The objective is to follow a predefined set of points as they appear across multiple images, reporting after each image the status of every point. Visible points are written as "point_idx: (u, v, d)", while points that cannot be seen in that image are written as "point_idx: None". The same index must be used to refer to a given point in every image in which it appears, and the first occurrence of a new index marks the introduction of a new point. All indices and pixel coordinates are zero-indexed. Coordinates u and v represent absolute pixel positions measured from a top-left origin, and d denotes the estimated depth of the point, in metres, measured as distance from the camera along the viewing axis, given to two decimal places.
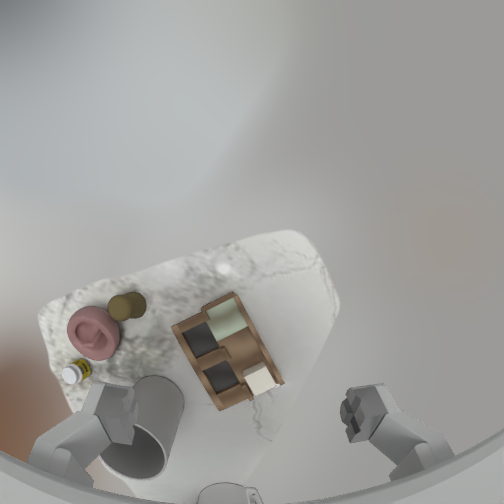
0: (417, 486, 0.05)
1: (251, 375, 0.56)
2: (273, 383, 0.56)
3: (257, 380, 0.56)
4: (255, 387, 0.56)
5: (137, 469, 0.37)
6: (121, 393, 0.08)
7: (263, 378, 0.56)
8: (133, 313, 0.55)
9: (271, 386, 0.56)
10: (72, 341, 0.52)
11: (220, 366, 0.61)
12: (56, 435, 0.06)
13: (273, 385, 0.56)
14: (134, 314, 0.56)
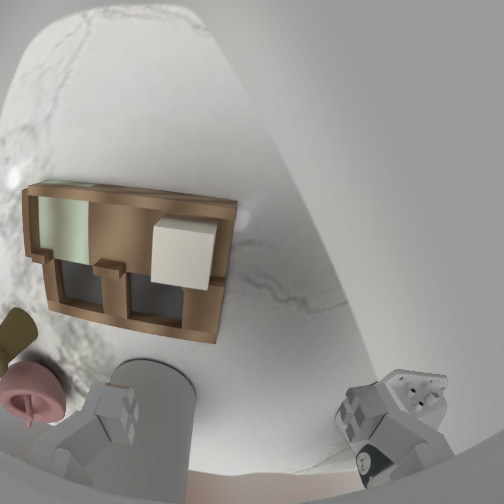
0: (417, 486, 0.05)
1: (154, 266, 0.24)
2: (204, 237, 0.23)
3: (174, 263, 0.24)
4: (186, 277, 0.24)
5: None
6: (122, 393, 0.08)
7: (177, 249, 0.23)
8: (9, 345, 0.27)
9: (208, 246, 0.23)
10: (37, 420, 0.32)
11: (141, 284, 0.31)
12: (57, 435, 0.06)
13: (209, 240, 0.23)
14: (14, 343, 0.28)
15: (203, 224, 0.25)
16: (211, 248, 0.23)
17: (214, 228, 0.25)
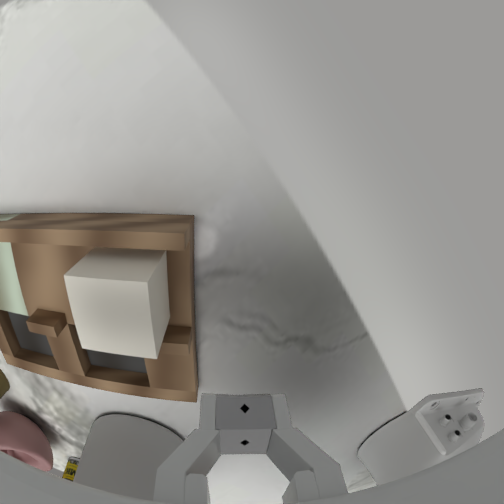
0: (417, 486, 0.05)
1: (80, 329, 0.15)
2: (133, 287, 0.14)
3: (102, 325, 0.14)
4: (124, 343, 0.15)
5: None
6: (238, 402, 0.09)
7: (101, 306, 0.14)
8: None
9: (142, 300, 0.14)
10: None
11: None
12: (181, 461, 0.06)
13: (141, 292, 0.14)
14: None
15: (140, 260, 0.16)
16: (147, 302, 0.14)
17: (153, 267, 0.15)
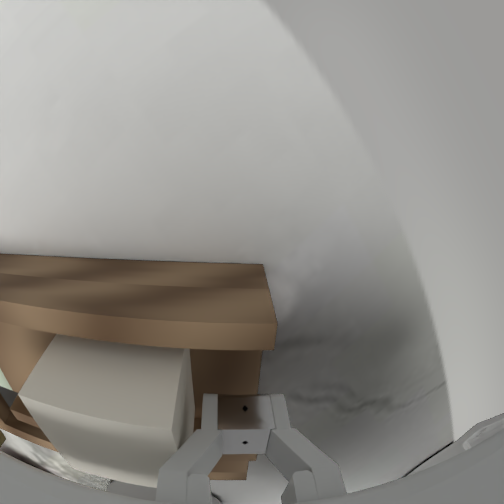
0: (417, 486, 0.05)
1: (65, 454, 0.07)
2: (145, 432, 0.06)
3: (98, 458, 0.07)
4: (137, 477, 0.07)
5: None
6: (240, 402, 0.09)
7: (91, 442, 0.07)
8: None
9: (163, 446, 0.06)
10: None
11: None
12: (183, 461, 0.06)
13: (161, 438, 0.06)
14: None
15: (146, 359, 0.08)
16: (173, 450, 0.07)
17: (174, 381, 0.08)
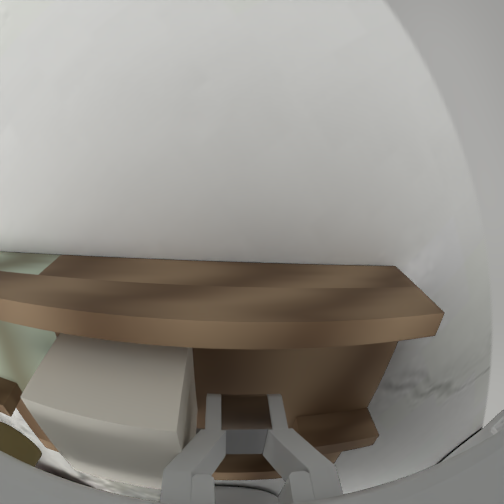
0: (417, 486, 0.05)
1: (67, 456, 0.07)
2: (149, 435, 0.06)
3: (101, 460, 0.07)
4: (139, 479, 0.07)
5: None
6: (243, 402, 0.09)
7: (94, 444, 0.06)
8: None
9: (167, 448, 0.06)
10: None
11: None
12: (188, 461, 0.06)
13: (165, 440, 0.06)
14: None
15: (150, 361, 0.08)
16: (178, 452, 0.07)
17: (178, 383, 0.08)
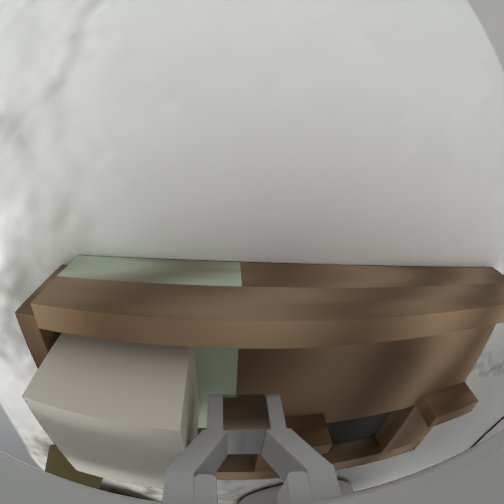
0: (417, 486, 0.05)
1: (68, 456, 0.07)
2: (153, 434, 0.06)
3: (103, 460, 0.07)
4: (142, 478, 0.07)
5: None
6: (245, 402, 0.09)
7: (97, 444, 0.07)
8: None
9: (170, 447, 0.06)
10: None
11: None
12: (190, 461, 0.06)
13: (169, 439, 0.06)
14: None
15: (152, 360, 0.08)
16: (181, 450, 0.07)
17: (181, 382, 0.08)
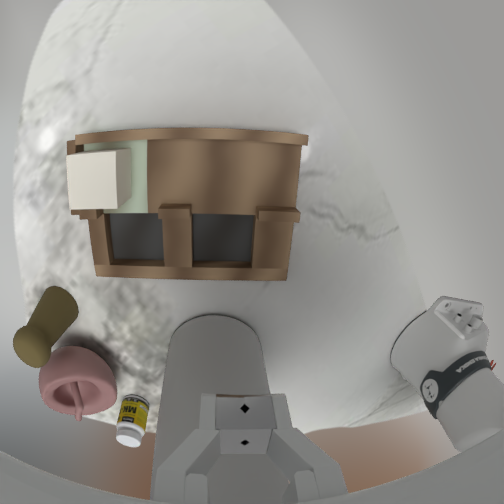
0: (417, 486, 0.05)
1: (70, 193, 0.22)
2: (107, 156, 0.21)
3: (85, 186, 0.22)
4: (97, 198, 0.23)
5: None
6: (238, 402, 0.09)
7: (87, 172, 0.22)
8: (51, 326, 0.28)
9: (111, 163, 0.22)
10: (83, 413, 0.33)
11: (204, 228, 0.31)
12: (182, 461, 0.06)
13: (111, 158, 0.22)
14: (56, 323, 0.29)
15: (113, 149, 0.24)
16: (114, 165, 0.22)
17: (120, 149, 0.23)
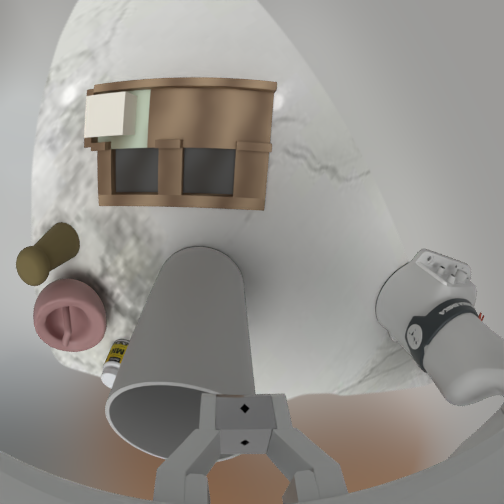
0: (417, 486, 0.05)
1: (86, 124, 0.27)
2: (118, 95, 0.26)
3: (99, 118, 0.27)
4: (108, 127, 0.27)
5: None
6: (238, 402, 0.09)
7: (101, 108, 0.26)
8: (53, 250, 0.32)
9: (121, 100, 0.26)
10: (72, 349, 0.37)
11: (193, 164, 0.36)
12: (181, 460, 0.06)
13: (122, 96, 0.26)
14: (57, 249, 0.33)
15: None
16: (123, 101, 0.26)
17: (129, 93, 0.28)
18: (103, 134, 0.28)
